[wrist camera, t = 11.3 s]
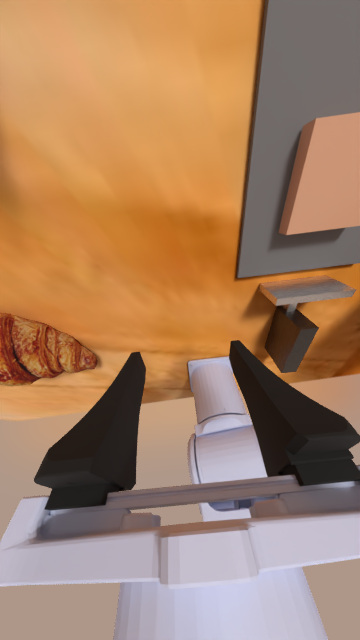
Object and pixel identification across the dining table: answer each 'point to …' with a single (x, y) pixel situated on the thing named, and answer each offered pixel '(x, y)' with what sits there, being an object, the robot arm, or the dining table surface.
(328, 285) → the turner
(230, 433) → the robot arm
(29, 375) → the croissant
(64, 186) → the dining table surface
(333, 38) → the mat
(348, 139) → the tile
